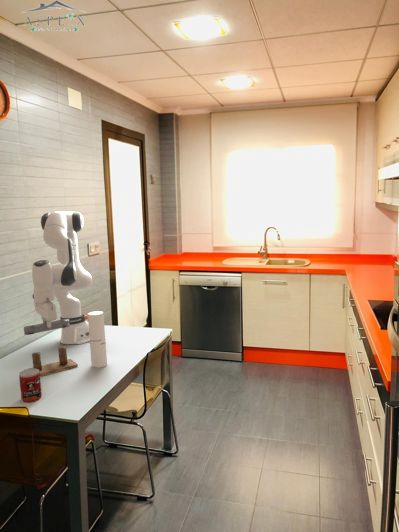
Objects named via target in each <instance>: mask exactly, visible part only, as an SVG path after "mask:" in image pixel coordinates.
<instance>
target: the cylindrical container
mask: <svg viewBox="0 0 399 532" xmlns="http://www.w3.org/2000/svg"><path fill="white" fill-rule="evenodd" d="M87 316H88V319H87V322H88V324H89V337H90V341H89V347H90V349H89V350H90V361H91V367H93V368H103V367H105V366H107V365H108V360H107V359H108V358H107V357H108V356H107V345H106V342H107V341H106V330H105V318H104V317H105V316H104V311H101V310H96V311H91V312H88V313H87Z"/></svg>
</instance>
